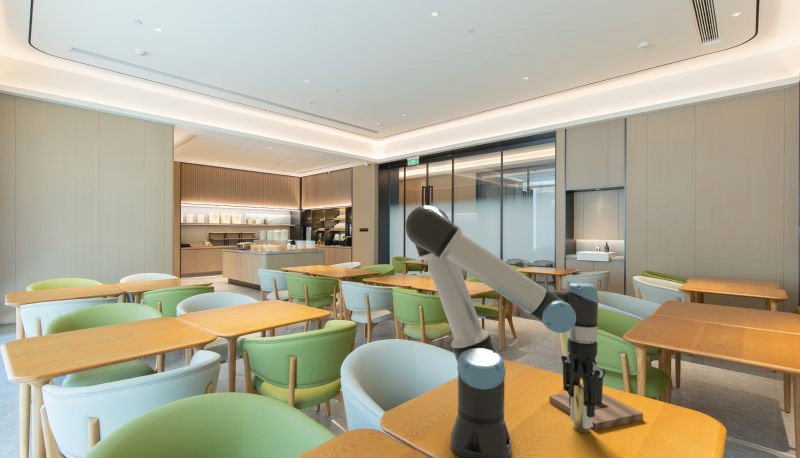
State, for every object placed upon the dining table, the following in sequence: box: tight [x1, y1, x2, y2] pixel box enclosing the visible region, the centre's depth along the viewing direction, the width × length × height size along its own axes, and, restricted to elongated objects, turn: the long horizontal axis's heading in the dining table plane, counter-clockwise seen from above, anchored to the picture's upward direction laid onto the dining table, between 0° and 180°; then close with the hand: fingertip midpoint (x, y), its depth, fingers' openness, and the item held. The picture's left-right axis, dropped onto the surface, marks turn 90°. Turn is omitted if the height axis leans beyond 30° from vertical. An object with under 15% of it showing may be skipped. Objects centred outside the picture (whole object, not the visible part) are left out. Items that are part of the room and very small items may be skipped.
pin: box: [572, 382, 590, 434], centre depth 106 cm, size 4×4×12 cm
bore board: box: [549, 392, 644, 431], centre depth 116 cm, size 18×18×2 cm
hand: (581, 423), depth 106 cm, fingers closed on pin, 4 cm apart
